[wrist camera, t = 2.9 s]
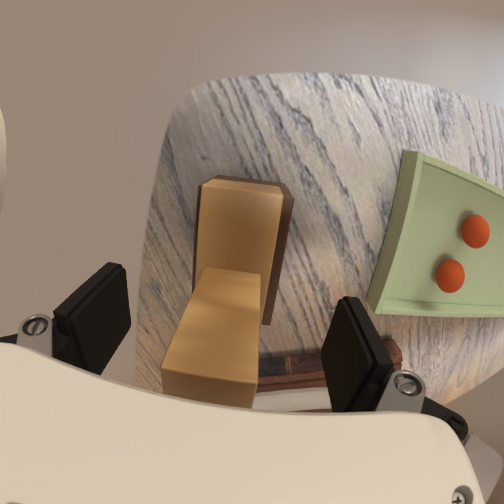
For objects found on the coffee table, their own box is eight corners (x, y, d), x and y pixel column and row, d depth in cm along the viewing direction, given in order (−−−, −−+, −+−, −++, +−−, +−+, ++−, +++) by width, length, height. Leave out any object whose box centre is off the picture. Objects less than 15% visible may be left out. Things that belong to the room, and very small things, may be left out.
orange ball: (451, 239, 19) (470, 251, 17) (460, 207, 18) (480, 216, 16) (471, 244, 20) (489, 255, 17) (479, 214, 18) (498, 223, 16)
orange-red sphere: (425, 282, 21) (441, 298, 18) (436, 252, 20) (454, 265, 17) (446, 284, 21) (463, 299, 18) (457, 256, 20) (475, 269, 17)
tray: (365, 299, 23) (374, 314, 20) (402, 150, 18) (418, 151, 16) (515, 308, 23) (524, 316, 21) (545, 219, 18) (556, 225, 16)
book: (389, 332, 25) (407, 360, 20) (371, 420, 29) (380, 447, 24) (172, 354, 27) (157, 384, 22) (205, 436, 31) (199, 463, 26)
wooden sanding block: (204, 324, 17) (166, 456, 8) (216, 175, 13) (131, 227, 5) (254, 331, 17) (246, 469, 8) (278, 183, 13) (309, 251, 5)
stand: (208, 273, 22) (191, 314, 17) (216, 174, 19) (198, 185, 14) (268, 282, 22) (270, 325, 17) (285, 184, 19) (294, 198, 14)
